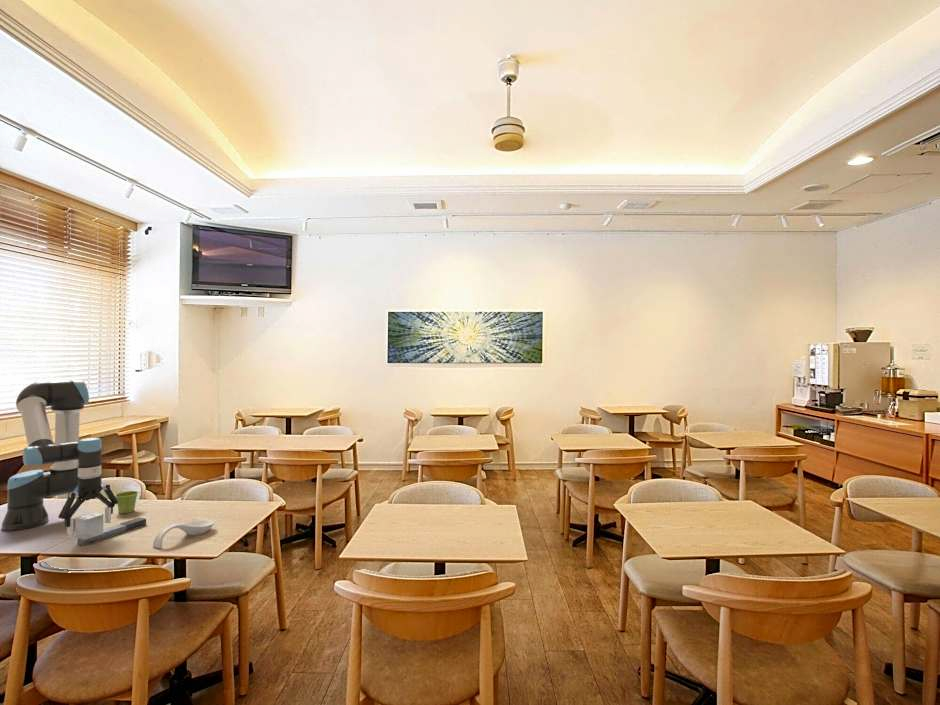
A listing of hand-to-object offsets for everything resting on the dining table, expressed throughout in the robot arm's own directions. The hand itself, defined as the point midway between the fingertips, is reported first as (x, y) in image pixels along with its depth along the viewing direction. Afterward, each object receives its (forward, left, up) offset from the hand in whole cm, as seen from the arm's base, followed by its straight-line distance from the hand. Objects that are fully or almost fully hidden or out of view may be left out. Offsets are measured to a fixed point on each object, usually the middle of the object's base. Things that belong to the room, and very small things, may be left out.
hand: (89, 528), depth 188 cm
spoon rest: (+32, +18, -6) cm, 37 cm away
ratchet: (0, +9, -5) cm, 10 cm away
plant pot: (-24, +29, -6) cm, 38 cm away
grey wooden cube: (0, 0, -3) cm, 3 cm away
